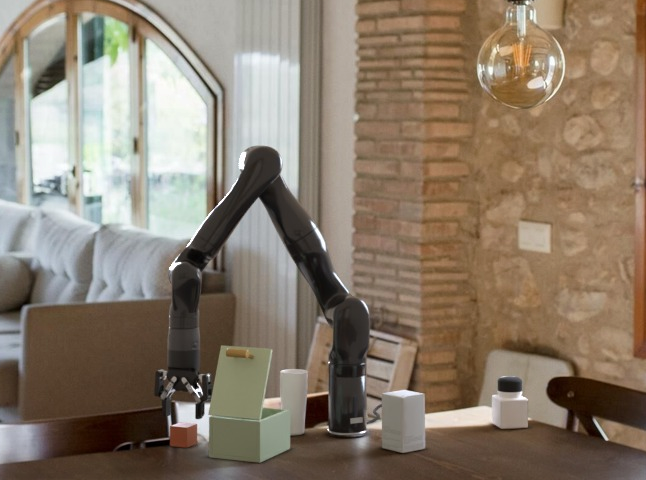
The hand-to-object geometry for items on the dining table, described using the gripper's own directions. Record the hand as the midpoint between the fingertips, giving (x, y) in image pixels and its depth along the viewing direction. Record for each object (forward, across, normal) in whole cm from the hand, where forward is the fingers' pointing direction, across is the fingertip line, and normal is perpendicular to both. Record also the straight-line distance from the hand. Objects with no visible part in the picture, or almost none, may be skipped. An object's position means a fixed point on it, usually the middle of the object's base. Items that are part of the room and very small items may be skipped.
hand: (182, 417), depth 298 cm
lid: (-10, -18, +5) cm, 21 cm away
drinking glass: (+6, -18, -21) cm, 29 cm away
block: (+6, 0, 0) cm, 6 cm away
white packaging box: (+6, -48, -17) cm, 52 cm away
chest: (+6, -18, +1) cm, 19 cm away
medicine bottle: (+6, -63, -51) cm, 81 cm away
